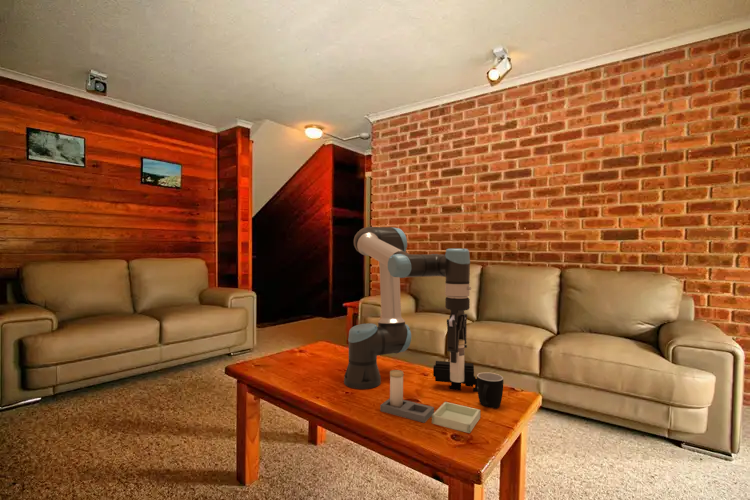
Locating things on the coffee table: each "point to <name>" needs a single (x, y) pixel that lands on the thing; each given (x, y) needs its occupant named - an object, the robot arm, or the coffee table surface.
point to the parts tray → (456, 417)
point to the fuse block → (404, 401)
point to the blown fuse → (459, 376)
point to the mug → (490, 389)
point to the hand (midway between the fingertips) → (457, 370)
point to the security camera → (443, 375)
